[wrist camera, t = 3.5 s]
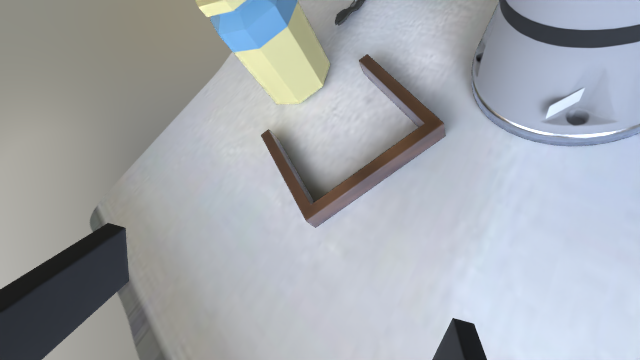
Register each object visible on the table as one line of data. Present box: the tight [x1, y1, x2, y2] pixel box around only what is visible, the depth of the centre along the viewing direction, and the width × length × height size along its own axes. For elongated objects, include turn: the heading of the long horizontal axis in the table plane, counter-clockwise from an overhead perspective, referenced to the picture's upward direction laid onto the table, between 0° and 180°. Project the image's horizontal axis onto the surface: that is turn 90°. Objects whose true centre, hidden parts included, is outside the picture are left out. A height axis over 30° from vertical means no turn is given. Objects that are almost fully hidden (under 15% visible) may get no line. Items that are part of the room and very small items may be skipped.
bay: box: [261, 54, 446, 228], centre depth 33 cm, size 15×13×2 cm
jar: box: [195, 0, 330, 104], centre depth 35 cm, size 9×9×15 cm
